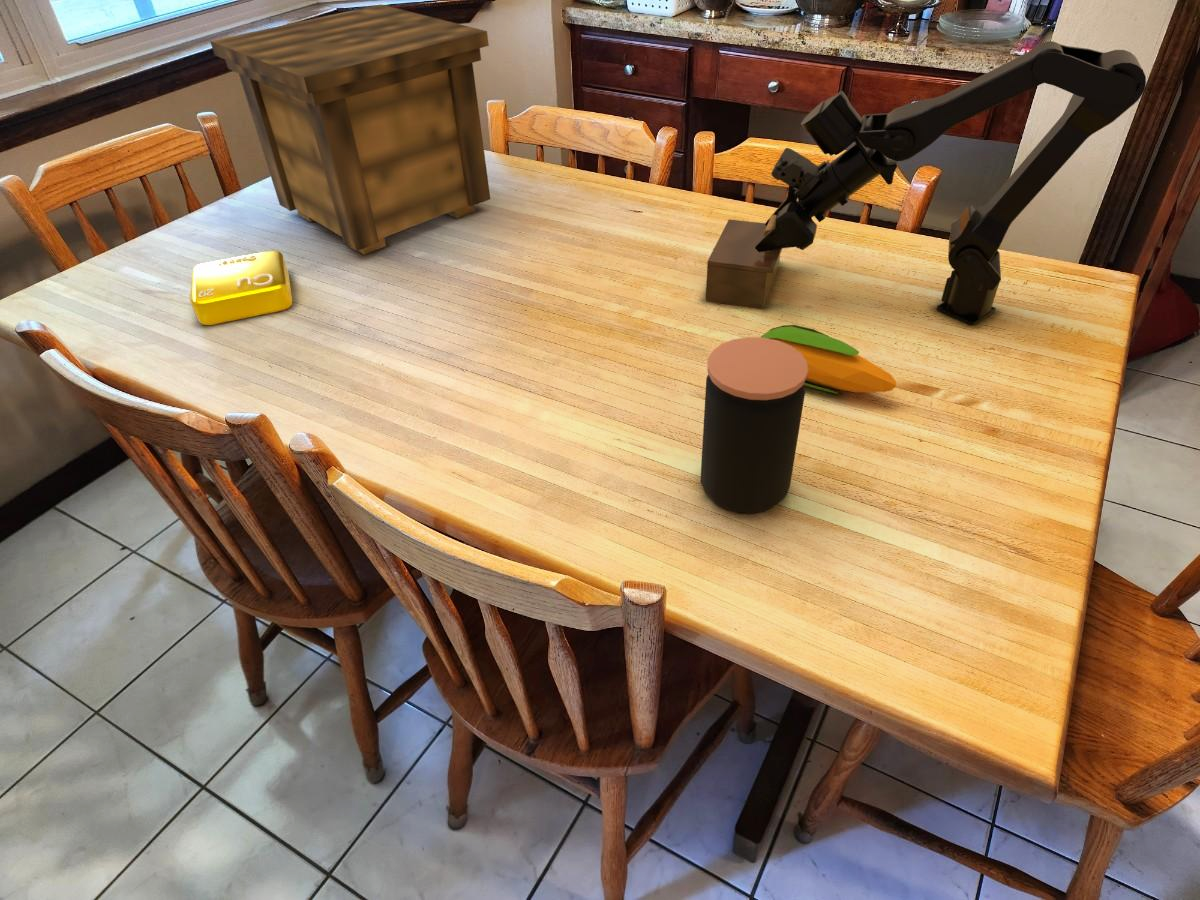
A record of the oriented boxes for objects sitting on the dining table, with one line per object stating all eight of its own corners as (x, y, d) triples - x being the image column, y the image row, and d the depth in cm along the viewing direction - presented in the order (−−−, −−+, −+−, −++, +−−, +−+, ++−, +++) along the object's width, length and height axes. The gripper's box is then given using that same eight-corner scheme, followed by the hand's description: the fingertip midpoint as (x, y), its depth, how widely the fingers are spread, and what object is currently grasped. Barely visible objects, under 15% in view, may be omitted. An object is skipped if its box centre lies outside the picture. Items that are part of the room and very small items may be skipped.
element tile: (288, 269, 143) (280, 245, 140) (293, 309, 133) (285, 283, 130) (200, 286, 140) (190, 262, 137) (199, 328, 129) (188, 302, 126)
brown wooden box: (779, 264, 138) (783, 229, 134) (762, 309, 127) (766, 273, 123) (726, 257, 140) (728, 223, 136) (705, 301, 129) (707, 265, 125)
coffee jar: (778, 455, 100) (796, 333, 88) (797, 515, 92) (819, 390, 80) (694, 460, 100) (700, 338, 88) (706, 520, 92) (714, 396, 80)
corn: (772, 305, 113) (912, 344, 104) (768, 348, 118) (902, 389, 109) (748, 332, 109) (893, 376, 100) (746, 375, 114) (883, 420, 105)
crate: (267, 216, 162) (210, 40, 140) (412, 166, 179) (380, 4, 158) (355, 271, 142) (303, 77, 121) (508, 209, 159) (487, 31, 138)
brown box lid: (789, 230, 133) (792, 203, 130) (773, 273, 122) (776, 245, 119) (728, 223, 136) (730, 197, 133) (707, 265, 125) (708, 237, 122)
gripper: (818, 113, 122) (741, 177, 132) (800, 158, 109) (716, 224, 119) (862, 169, 125) (783, 227, 135) (849, 218, 112) (763, 278, 122)
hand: (761, 237), depth 128 cm, fingers open, 8 cm apart
